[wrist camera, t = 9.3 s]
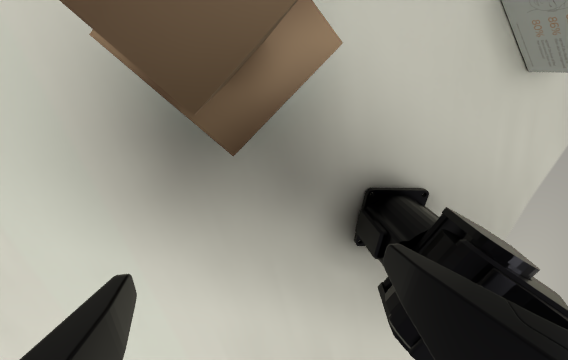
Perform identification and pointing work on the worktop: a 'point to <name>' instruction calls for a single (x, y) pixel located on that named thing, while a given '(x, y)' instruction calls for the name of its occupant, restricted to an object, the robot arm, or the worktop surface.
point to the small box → (540, 32)
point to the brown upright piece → (216, 55)
